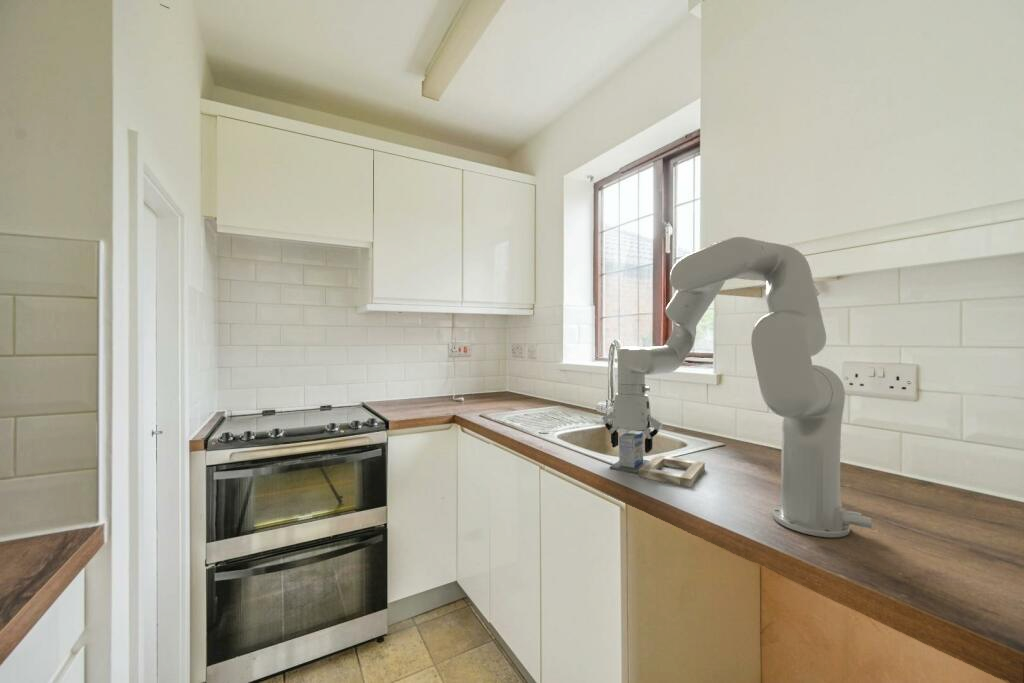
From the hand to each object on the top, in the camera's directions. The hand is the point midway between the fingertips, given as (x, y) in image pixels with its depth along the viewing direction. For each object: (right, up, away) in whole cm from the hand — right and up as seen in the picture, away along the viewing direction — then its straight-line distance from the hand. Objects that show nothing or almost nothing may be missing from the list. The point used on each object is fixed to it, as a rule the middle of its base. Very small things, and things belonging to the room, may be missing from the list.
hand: (631, 449), depth 120 cm
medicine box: (0, -4, 0) cm, 4 cm away
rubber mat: (0, -5, 0) cm, 5 cm away
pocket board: (+9, -5, -7) cm, 12 cm away
